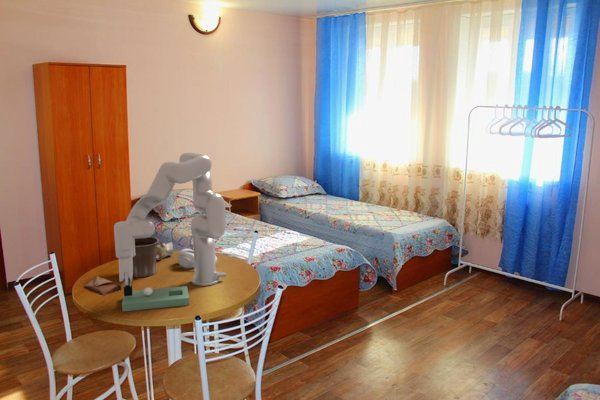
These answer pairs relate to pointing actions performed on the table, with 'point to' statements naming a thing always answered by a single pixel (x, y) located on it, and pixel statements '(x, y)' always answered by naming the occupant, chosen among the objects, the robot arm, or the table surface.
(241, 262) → the table surface
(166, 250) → the ceramic sculpture
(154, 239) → the plant pot
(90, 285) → the sunglasses case
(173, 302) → the green board
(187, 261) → the headphones
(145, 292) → the ball
